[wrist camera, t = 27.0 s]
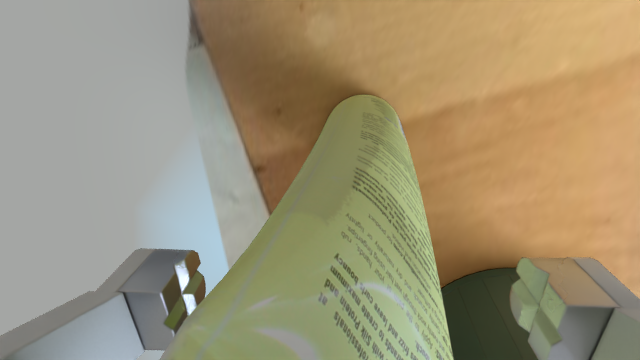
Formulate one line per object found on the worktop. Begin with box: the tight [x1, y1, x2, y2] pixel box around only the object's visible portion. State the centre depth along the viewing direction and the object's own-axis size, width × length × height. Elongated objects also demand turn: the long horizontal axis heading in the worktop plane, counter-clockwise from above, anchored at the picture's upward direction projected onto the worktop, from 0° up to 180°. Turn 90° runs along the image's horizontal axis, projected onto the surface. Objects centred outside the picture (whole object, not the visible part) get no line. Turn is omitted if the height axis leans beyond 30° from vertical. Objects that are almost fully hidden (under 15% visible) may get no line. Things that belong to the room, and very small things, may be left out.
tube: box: [160, 95, 454, 360], centre depth 13 cm, size 6×5×20 cm
